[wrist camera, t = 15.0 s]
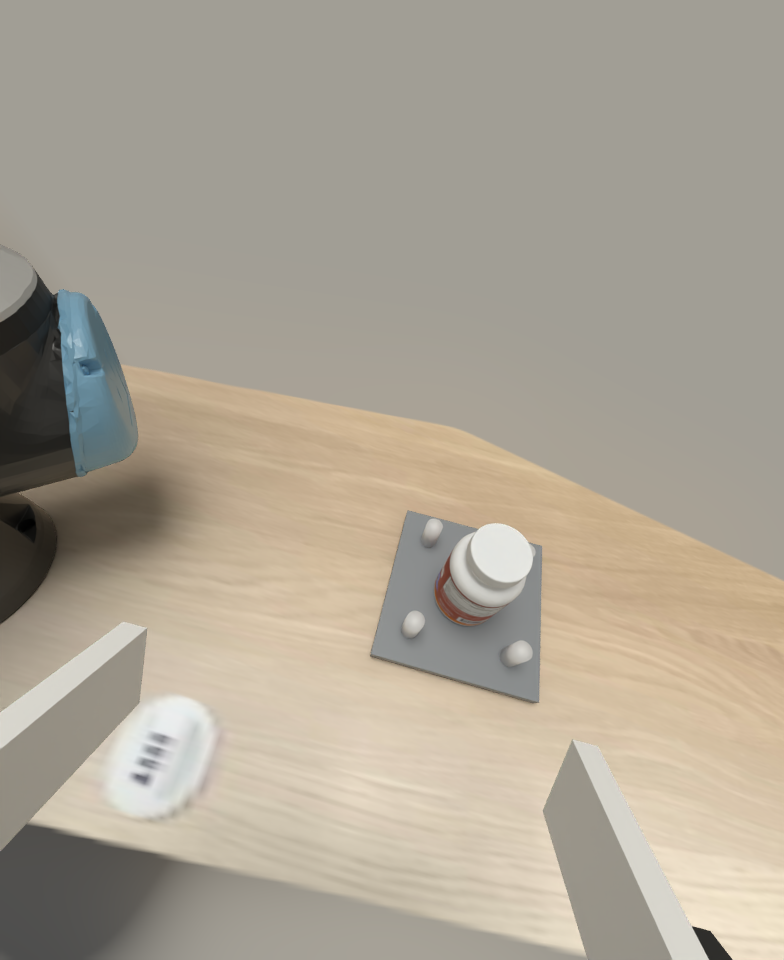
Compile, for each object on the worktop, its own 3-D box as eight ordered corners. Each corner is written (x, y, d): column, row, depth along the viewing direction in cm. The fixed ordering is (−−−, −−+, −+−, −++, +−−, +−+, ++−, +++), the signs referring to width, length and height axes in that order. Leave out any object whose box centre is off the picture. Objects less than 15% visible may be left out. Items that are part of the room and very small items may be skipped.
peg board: (370, 656, 34) (373, 646, 30) (406, 515, 42) (412, 493, 38) (533, 703, 33) (557, 699, 29) (537, 550, 41) (557, 532, 38)
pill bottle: (464, 553, 39) (500, 499, 30) (507, 601, 37) (560, 559, 28) (419, 587, 37) (443, 541, 27) (462, 642, 34) (504, 611, 25)
